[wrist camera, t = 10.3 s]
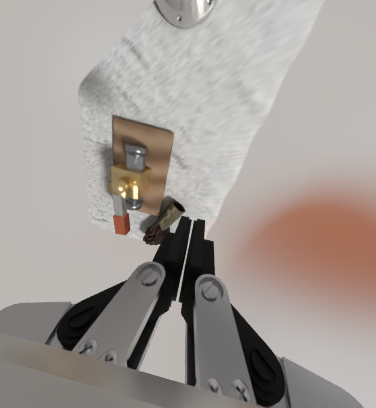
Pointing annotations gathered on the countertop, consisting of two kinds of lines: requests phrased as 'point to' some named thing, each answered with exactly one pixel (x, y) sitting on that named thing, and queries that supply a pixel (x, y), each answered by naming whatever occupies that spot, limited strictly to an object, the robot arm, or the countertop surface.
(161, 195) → the mounting board
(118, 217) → the valve lever
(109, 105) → the countertop surface
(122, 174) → the pipe and valve
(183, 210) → the olive brown elongated lump
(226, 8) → the countertop surface
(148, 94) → the countertop surface
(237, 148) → the countertop surface
